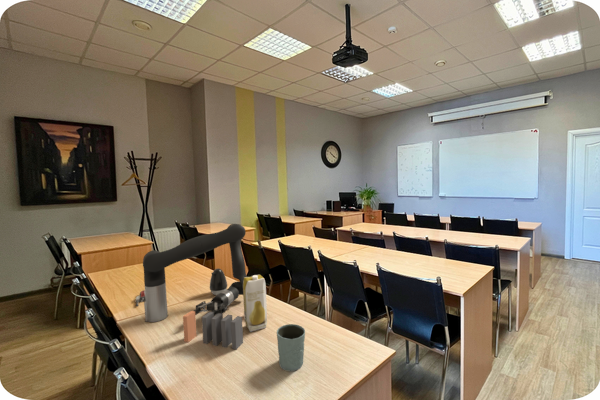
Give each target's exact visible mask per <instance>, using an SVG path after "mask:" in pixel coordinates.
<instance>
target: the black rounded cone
mask: <svg viewBox="0 0 600 400" xmlns="http://www.w3.org/2000/svg"><path fill="white" fill-rule="evenodd" d="M227 289H228V281H227V278H226V276H225V273H224V271H223V269H222V268H214V270H213V271H212V272H211V276H210V281H209V290H210V293H211V294H213V295H214V296H216V295H218V294H219V293H221V292H223V291H225V290H227Z"/></svg>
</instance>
